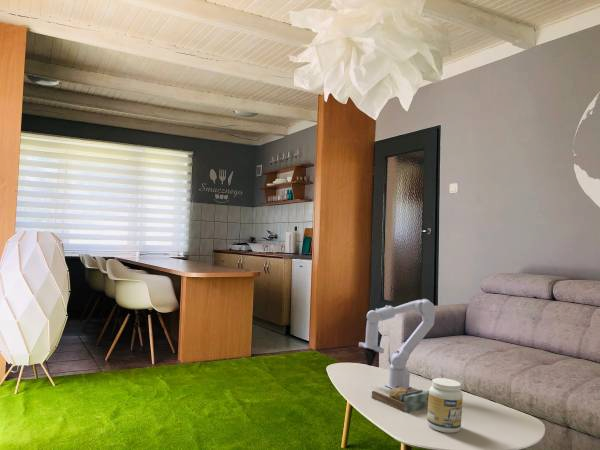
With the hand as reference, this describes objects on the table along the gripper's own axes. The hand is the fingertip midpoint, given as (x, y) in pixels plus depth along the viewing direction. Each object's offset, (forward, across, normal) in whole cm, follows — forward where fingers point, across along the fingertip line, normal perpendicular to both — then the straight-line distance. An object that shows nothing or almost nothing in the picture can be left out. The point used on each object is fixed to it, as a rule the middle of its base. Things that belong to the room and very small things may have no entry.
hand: (369, 365), depth 230 cm
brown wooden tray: (+9, +24, -5) cm, 26 cm away
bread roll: (+10, +23, -5) cm, 26 cm away
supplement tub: (+9, +50, -13) cm, 53 cm away
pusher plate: (+9, +29, -5) cm, 31 cm away
